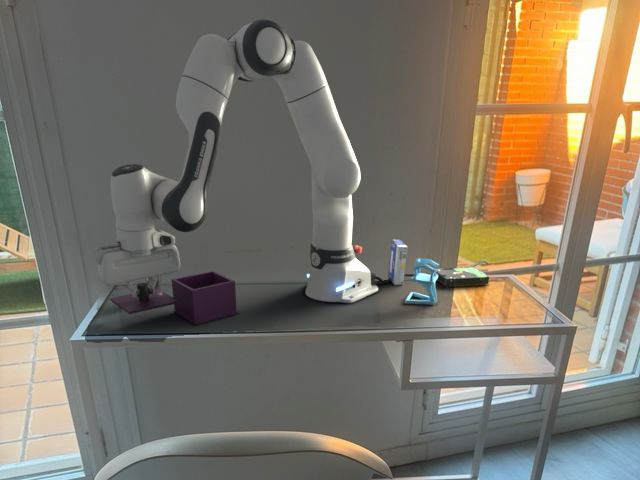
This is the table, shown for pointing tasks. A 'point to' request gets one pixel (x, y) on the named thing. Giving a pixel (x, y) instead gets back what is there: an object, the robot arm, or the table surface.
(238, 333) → the table surface
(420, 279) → the chair
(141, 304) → the lid
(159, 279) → the milkshake
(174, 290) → the box
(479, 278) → the disk drive
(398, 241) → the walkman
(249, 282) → the table surface
